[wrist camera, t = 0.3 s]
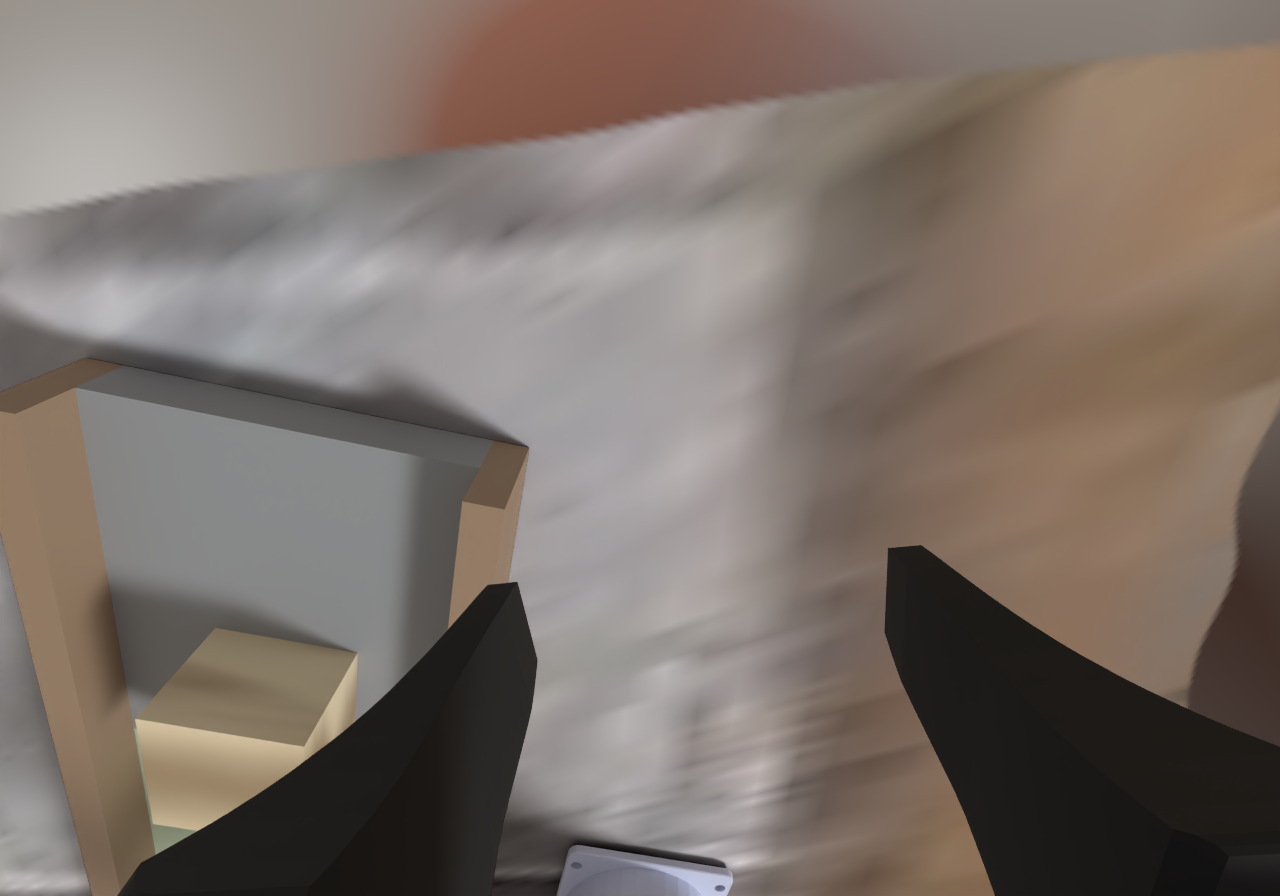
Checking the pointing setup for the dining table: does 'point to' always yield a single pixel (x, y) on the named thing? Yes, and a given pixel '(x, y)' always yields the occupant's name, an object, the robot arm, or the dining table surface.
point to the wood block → (240, 722)
